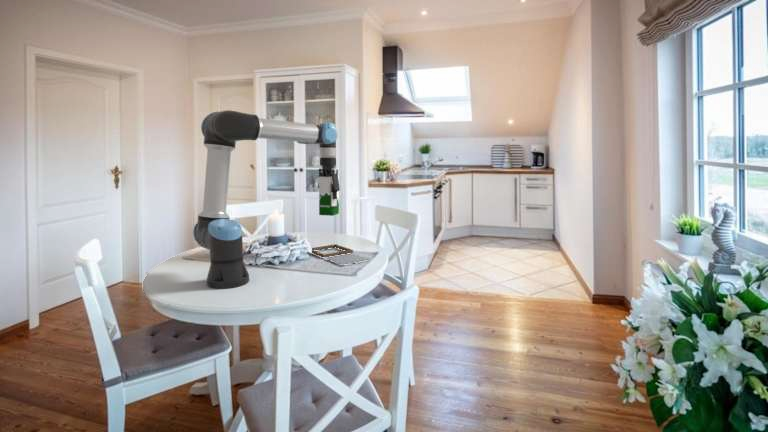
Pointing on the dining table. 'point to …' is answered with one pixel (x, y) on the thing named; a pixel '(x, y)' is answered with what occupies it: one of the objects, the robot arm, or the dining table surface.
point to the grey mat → (347, 258)
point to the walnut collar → (331, 253)
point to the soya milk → (326, 197)
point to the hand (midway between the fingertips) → (328, 204)
